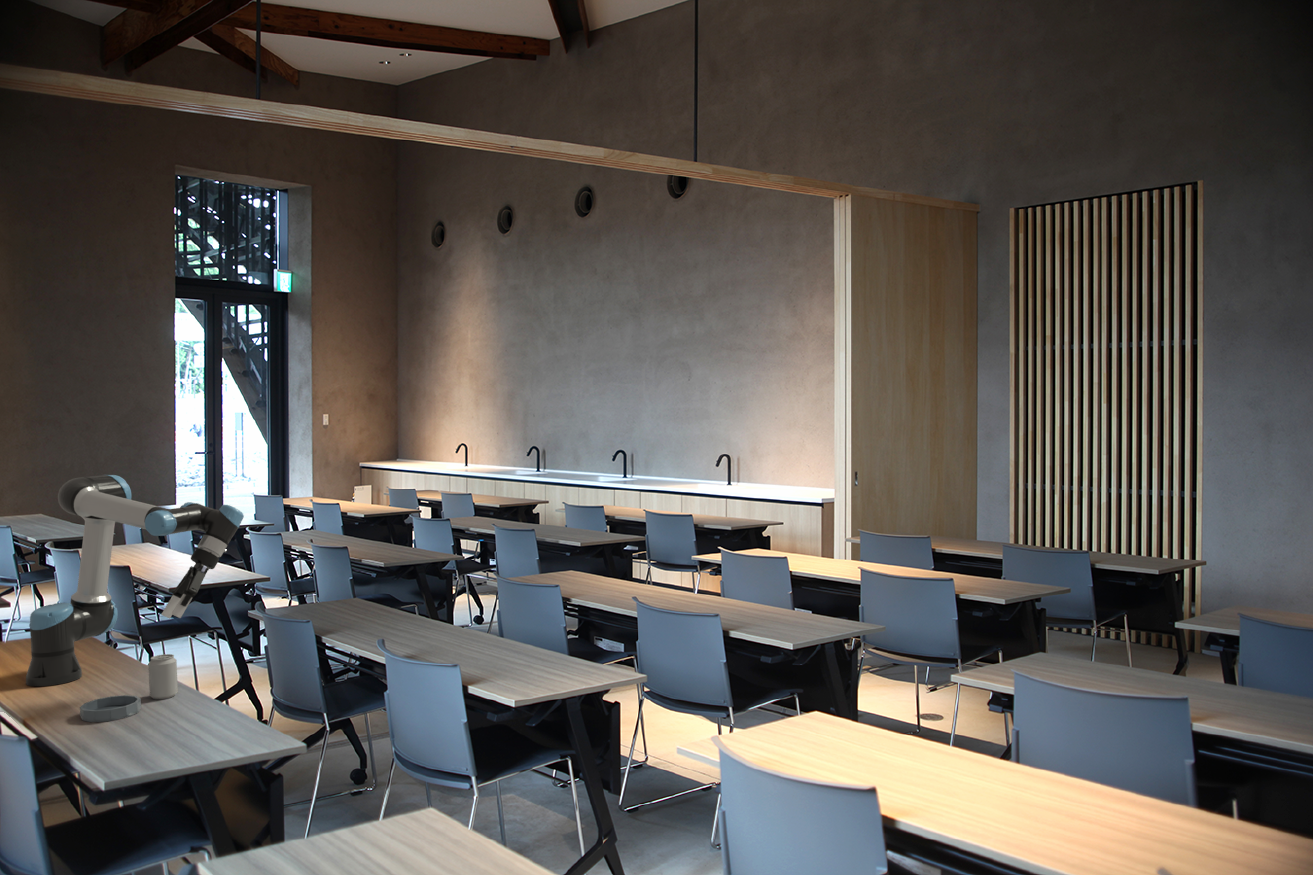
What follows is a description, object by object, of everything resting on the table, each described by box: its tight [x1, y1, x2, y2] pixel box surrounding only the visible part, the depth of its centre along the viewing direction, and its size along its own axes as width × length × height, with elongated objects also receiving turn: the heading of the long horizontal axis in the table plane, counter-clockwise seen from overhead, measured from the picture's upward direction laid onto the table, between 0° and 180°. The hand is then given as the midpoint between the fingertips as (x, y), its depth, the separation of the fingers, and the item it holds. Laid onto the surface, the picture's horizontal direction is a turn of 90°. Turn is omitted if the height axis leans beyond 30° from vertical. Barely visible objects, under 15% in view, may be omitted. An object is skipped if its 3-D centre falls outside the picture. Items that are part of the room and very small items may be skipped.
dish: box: [79, 694, 142, 723], centre depth 276 cm, size 14×14×3 cm
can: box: [148, 653, 179, 700], centre depth 292 cm, size 8×8×12 cm
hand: (170, 616), depth 295 cm, fingers open, 13 cm apart
